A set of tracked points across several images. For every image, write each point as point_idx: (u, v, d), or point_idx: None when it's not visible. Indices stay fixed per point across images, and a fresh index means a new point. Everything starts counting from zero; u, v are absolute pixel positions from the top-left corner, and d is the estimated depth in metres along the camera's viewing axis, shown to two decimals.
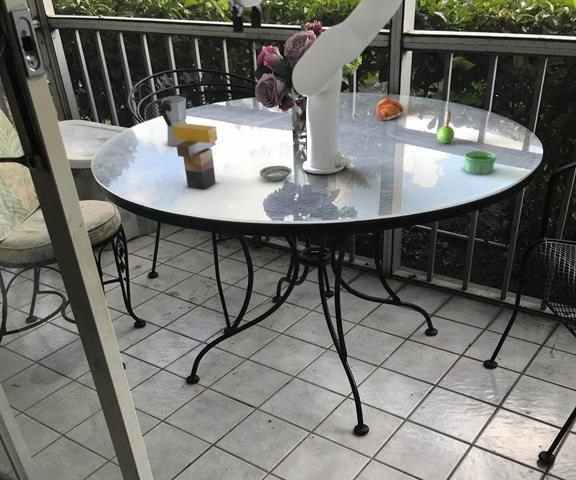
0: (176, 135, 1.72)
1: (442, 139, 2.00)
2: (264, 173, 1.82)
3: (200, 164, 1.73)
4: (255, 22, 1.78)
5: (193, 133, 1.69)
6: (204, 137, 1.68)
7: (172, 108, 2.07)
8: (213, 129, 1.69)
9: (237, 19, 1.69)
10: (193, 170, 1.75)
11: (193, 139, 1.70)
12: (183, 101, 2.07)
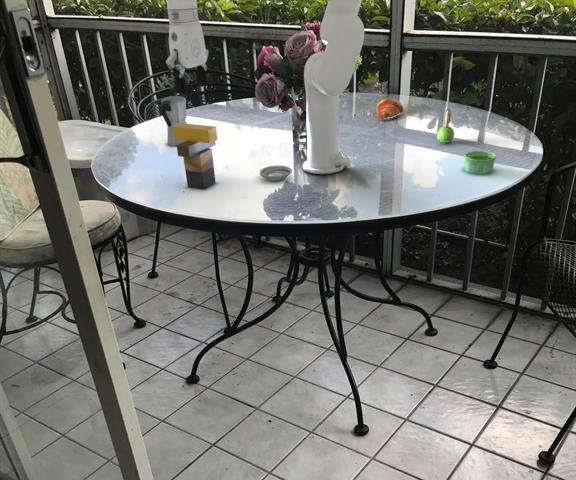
0: (176, 135, 1.72)
1: (442, 139, 2.00)
2: (264, 173, 1.82)
3: (200, 164, 1.73)
4: (201, 81, 1.68)
5: (193, 133, 1.69)
6: (204, 137, 1.68)
7: (172, 108, 2.07)
8: (213, 129, 1.69)
9: (178, 80, 1.59)
10: (193, 170, 1.75)
11: (193, 139, 1.70)
12: (183, 101, 2.07)
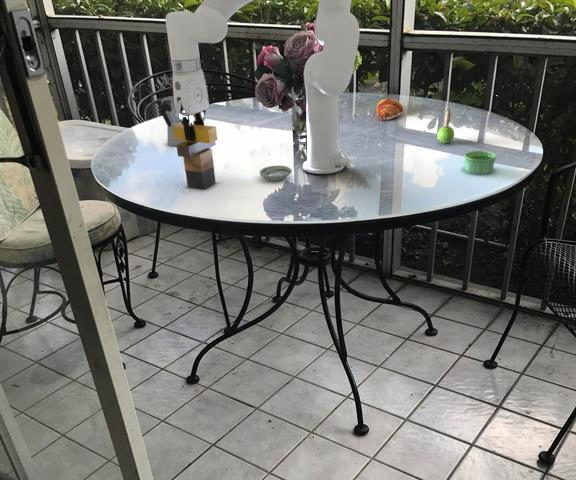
0: (176, 135, 1.72)
1: (442, 139, 2.00)
2: (264, 173, 1.82)
3: (200, 164, 1.73)
4: None
5: None
6: (204, 137, 1.68)
7: (172, 108, 2.07)
8: (213, 129, 1.69)
9: (188, 129, 1.68)
10: (193, 170, 1.75)
11: None
12: None
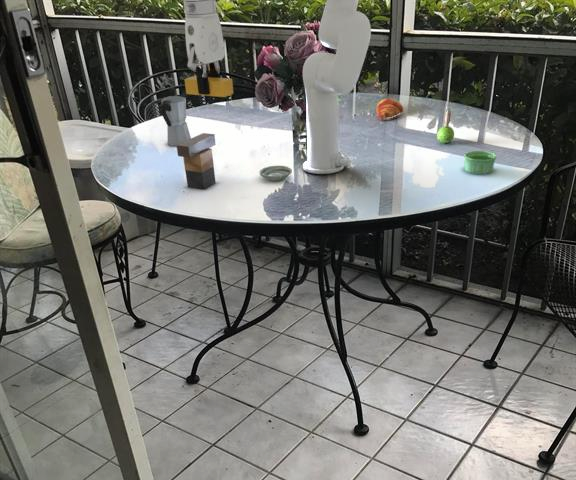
0: (188, 89, 1.56)
1: (442, 139, 2.00)
2: (264, 173, 1.82)
3: (200, 164, 1.73)
4: None
5: None
6: (219, 90, 1.52)
7: (172, 108, 2.07)
8: (229, 81, 1.53)
9: (202, 80, 1.52)
10: (193, 170, 1.75)
11: None
12: (183, 101, 2.07)
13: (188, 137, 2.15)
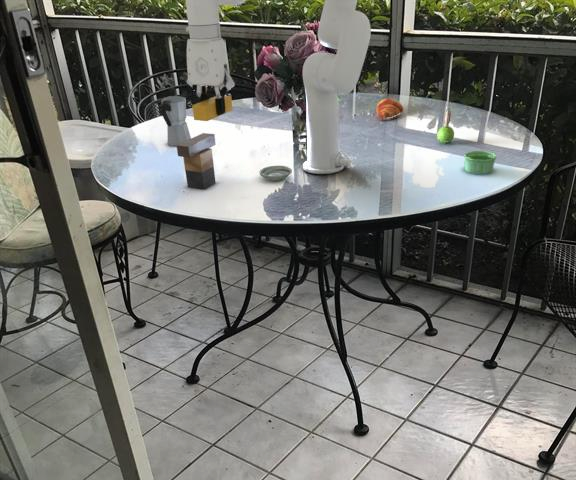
0: None
1: (442, 139, 2.00)
2: (264, 173, 1.82)
3: (200, 164, 1.73)
4: None
5: None
6: None
7: (172, 108, 2.07)
8: (201, 108, 1.52)
9: None
10: (193, 170, 1.75)
11: None
12: (183, 101, 2.07)
13: (188, 137, 2.15)
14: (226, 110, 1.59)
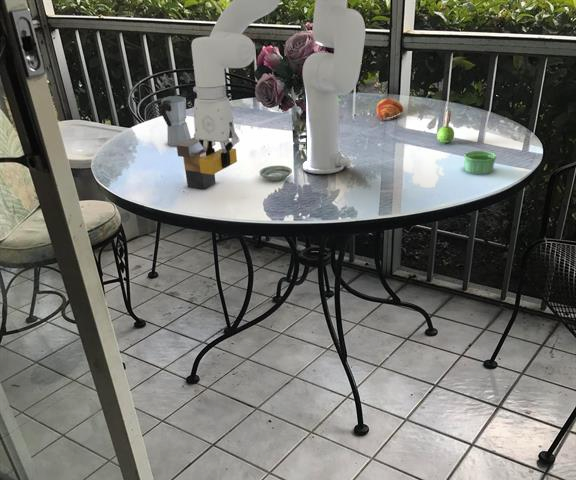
0: None
1: (442, 139, 2.00)
2: (264, 173, 1.82)
3: None
4: None
5: None
6: None
7: (172, 108, 2.07)
8: (208, 162, 1.60)
9: None
10: (193, 170, 1.75)
11: None
12: (183, 101, 2.07)
13: (188, 137, 2.15)
14: (231, 162, 1.67)
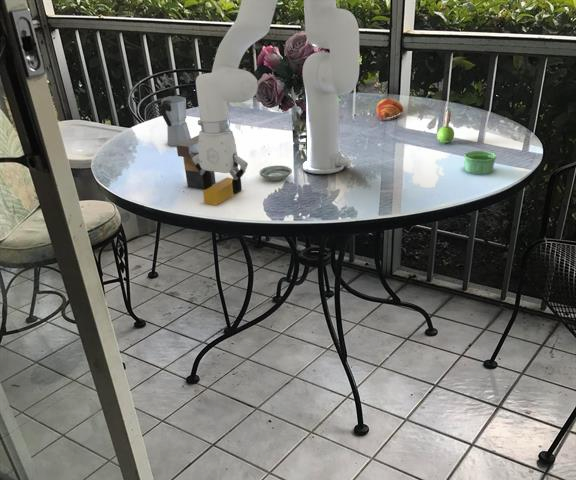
0: None
1: (442, 139, 2.00)
2: (264, 173, 1.82)
3: None
4: None
5: None
6: None
7: (172, 108, 2.07)
8: (211, 194, 1.65)
9: None
10: (193, 170, 1.75)
11: None
12: (183, 101, 2.07)
13: (188, 137, 2.15)
14: None
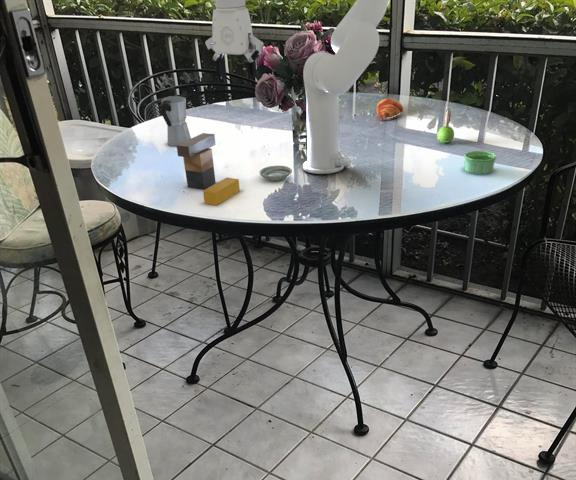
0: None
1: (442, 139, 2.00)
2: (264, 173, 1.82)
3: (200, 164, 1.73)
4: None
5: None
6: None
7: (172, 108, 2.07)
8: (211, 194, 1.65)
9: None
10: (193, 170, 1.75)
11: None
12: (183, 101, 2.07)
13: (188, 137, 2.15)
14: (234, 192, 1.72)
